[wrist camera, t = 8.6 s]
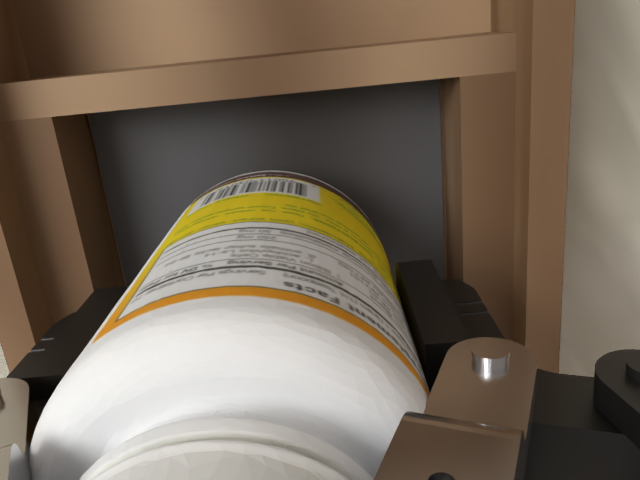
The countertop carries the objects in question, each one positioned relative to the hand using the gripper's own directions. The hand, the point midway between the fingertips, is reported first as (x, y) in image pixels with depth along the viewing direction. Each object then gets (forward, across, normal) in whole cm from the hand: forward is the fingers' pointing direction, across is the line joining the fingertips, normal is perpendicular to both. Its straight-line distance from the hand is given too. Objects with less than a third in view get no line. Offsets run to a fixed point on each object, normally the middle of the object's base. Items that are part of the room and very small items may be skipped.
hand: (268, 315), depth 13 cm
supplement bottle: (+3, 0, 0) cm, 3 cm away
